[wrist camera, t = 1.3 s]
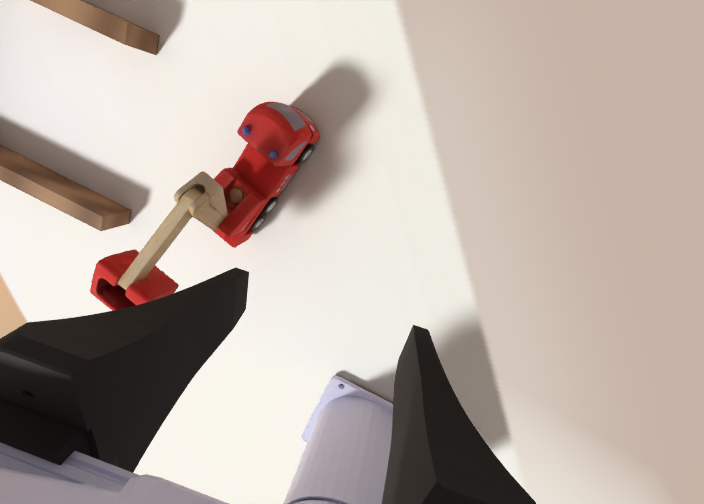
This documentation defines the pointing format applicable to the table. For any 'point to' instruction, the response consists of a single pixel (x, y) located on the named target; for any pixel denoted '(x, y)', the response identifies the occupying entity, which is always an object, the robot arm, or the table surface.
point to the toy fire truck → (216, 203)
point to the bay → (51, 184)
